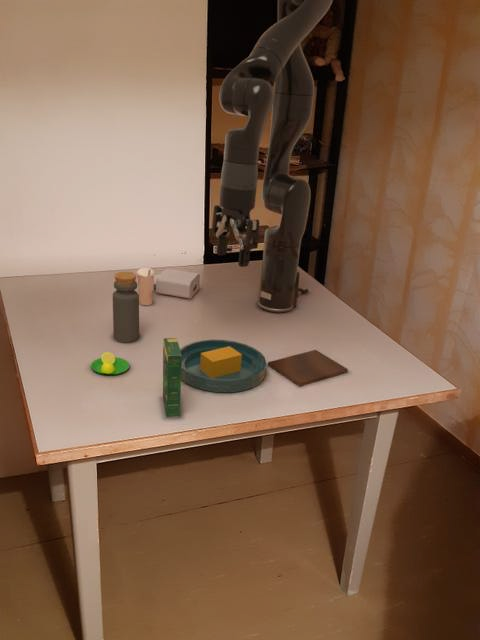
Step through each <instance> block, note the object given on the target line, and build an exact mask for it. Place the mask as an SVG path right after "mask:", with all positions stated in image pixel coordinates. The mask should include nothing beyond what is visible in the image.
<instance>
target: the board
mask: <svg viewBox="0 0 480 640" xmlns="http://www.w3.org/2000/svg"><path fill="white" fill-rule="evenodd" d="M267 366H268V367H270V368H271V369H273V371H275V372H277V373H278V374H280V375H281V376H283V377H284V378H286V379H287V380H288V381H290V382H292V384H294V385H296V386H298V387H303V386H306V385H309V384H313V383H316V382H319V381H323V380H325V379H330V378H333V377H336V376H340V375H343V374H347V373H348V371H349V369H348V368H347V367H345V366H343V365H342V364H340V363H339V362H337V361H335V360H333V359H332V358H331V357H328V356H327V355H325V354H323V353H322V352H320V351H318V350H317V349H313V350H310V351H309V350H308V351H305V352H301V353H298V354H293V355H290V356H287V357H283V358H279V359H274V360H271V361H268V362H267Z"/></svg>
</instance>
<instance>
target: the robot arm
mask: <svg viewBox="0 0 480 640" xmlns="http://www.w3.org/2000/svg"><path fill="white" fill-rule="evenodd" d="M333 2H334V0H277V22H275V23H274V24H273V25H271V26H270V27H269V28H268V29H266V30H265V31H264V32H263V33H262V34H261V36H260V37H259V39H258V40H257V42H256V43H255V45H254V47H253V49H251V52H250V54H249V56H248V57H246V58H244V60H242V61H241V62H240V63H239V64H238V65H237V66H235V67H233V69H231V71H230V72H229V73H228V74H227V75H226V76H225V78H224V79H223V81H222V84H221V85H220V89H219V94H218V99H219V105H220V106H221V109H222V110H223V111H224V112H225V113H227V114H229V115H235V116H240V117H246V118H248V120H247V121H246V124H245V125H244V127H235V128H230V129H229V130H228V131H227V132H226V134H225V139H224V153H223V162H222V168H221V173H220V174H221V176H220V189H219V190H220V191H219V199H218V200H219V201H218V202H219V203H218V204H217V205H214V206H213V214H212V222H211V232H212V233H214V234H215V237H216V238H217V242H216V254H217V255H218V256H226V255H227V253H228V252H227V251H228V240H229V239H228V236H229V234H230V233H231V234H232V235H234V239H235V240H236V241H237V243H238V245H239V251H238V262H237V263H238V266H239V267H240V268H245V267H249V264H250V257H251V250H255V249H256V250H257V249H258V247H259V235H260V219H252V218H251V212H252V210H254V208H255V206H256V198H257V197H256V195H257V188H258V177H259V155H260V145H261V140H262V136H263V135H264V134H263V133H264V130H265V127H266V124H267V122H268V119H269V116H270V113H271V121H270V132H269V141H268V151H267V156H266V163H265V167H264V174H263V180H262V185H261V200H262V203H263V206H264V207H265V209H267V210H268V211H269V212H273V213H276V214H278V215H281V217H280V222H279V225H274V226H269V227H267V228H266V229H265V231H264V239H263V251H262V262H261V270H260V271H261V272H260V283H259V291H258V292H259V293H258V301H257V306H258V308H260V309H262V310H264V311H266V312H272V313H287V312H290V311H292V310H293V309H294V308H297V301H298V299H299V294H300V293H302V294H306V293H309V289H308V288H305V289H303V288H302V287H299V284H300V275H301V273H300V271H298V268H299V261H300V252H301V244H302V238H303V236H304V234H305V232H306V228H307V227H306V226H307V221H308V216H309V211H310V205H311V198H312V197H311V192H312V191H311V188H310V187H311V185H310V184H309V182H308V181H307V180H305V179H304V178H302V177H301V178H300V177H297V176H293V175H290V162H291V158H292V153H293V150H294V148H295V146H296V144H297V142H298V141H299V140H300V138H301V137H302V135H303V133H304V132H305V130H306V129H307V127H308V125H309V123H310V121H311V118H312V114H313V107H314V98H315V97H314V96H315V89H316V88H315V80H314V77H313V73H312V71H311V68H310V66H309V64H308V61H307V59H306V57H305V54H304V52H303V49H302V46H301V43H302V42H303V41H304V40H305V38H306V37H307V36H309V34H310V33H311V32H312V31H313V29H314V28H315V27H316V26H317V25H318V23H320V21H321V20H322V19H323V18H324V17H325V15H326V14H327V13H328V11H329V10H330V8H331V6H332V4H333ZM272 85H273V86H272ZM218 223H219V224H218ZM244 240H245V241H244Z"/></svg>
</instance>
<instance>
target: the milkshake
mask: <svg viewBox="0 0 480 640" xmlns="http://www.w3.org/2000/svg"><path fill="white" fill-rule="evenodd" d="M155 274H156V272H155V271H154V269H153V268H150V267H141V268H139V269H138V270H136V279H137V288H138V294H139V305H142V306H151V305H152V304H153V302H154V290H155V289H154V287H155V285H154V279H155Z"/></svg>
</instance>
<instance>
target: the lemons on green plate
mask: <svg viewBox="0 0 480 640" xmlns="http://www.w3.org/2000/svg"><path fill="white" fill-rule="evenodd" d="M90 367H91V369H92V370H93V371H95V372H96V373H98V374H102V375H118V374H121V373H124V372H126V371H128V370H129V368H130V362H128V360H126V359H124V358H121V357H119V356H118V357H116V356H115V355H114V354H113V353H112V352H110V351H106V352H104V353H102V355H101V356H100V357H99V358H97V359H95V360H94V361H92V362H91V364H90Z"/></svg>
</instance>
